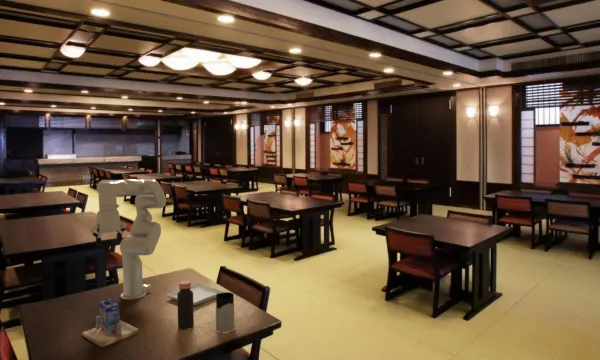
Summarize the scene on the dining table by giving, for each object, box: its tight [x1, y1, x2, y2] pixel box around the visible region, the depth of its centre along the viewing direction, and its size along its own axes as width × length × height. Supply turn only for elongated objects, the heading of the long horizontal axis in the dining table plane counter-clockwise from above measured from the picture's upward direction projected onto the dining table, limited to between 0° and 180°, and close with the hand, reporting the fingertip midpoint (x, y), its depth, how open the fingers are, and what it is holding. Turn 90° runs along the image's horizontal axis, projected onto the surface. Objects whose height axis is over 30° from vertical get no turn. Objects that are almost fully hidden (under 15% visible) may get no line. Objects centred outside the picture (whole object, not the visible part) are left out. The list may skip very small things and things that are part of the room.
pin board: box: [82, 315, 140, 348], centre depth 172 cm, size 16×16×6 cm
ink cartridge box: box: [98, 297, 121, 336], centre depth 171 cm, size 10×6×14 cm, turn 42°
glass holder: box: [215, 291, 236, 332], centre depth 179 cm, size 9×14×15 cm, turn 32°
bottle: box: [176, 280, 195, 330], centre depth 178 cm, size 7×7×20 cm
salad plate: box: [166, 283, 224, 306], centre depth 213 cm, size 21×21×3 cm
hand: (109, 243), depth 192 cm, fingers open, 9 cm apart
